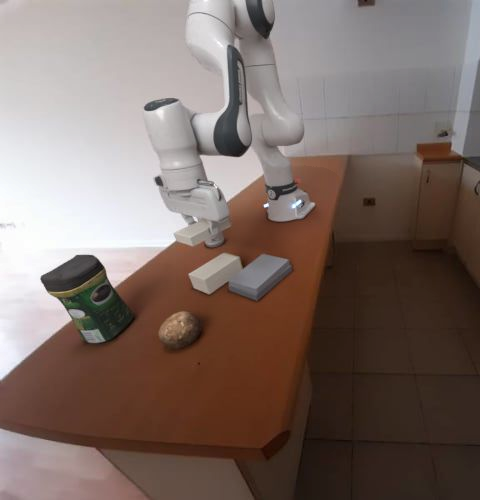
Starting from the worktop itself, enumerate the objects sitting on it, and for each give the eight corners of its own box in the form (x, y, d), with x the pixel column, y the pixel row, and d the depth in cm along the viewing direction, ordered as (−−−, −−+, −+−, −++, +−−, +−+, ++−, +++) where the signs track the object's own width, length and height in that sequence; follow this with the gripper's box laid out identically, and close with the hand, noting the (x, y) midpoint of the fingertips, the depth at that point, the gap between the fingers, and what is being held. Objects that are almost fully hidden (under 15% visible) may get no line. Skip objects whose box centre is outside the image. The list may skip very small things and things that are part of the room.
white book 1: (226, 258, 85) (224, 252, 83) (241, 263, 82) (239, 256, 80) (191, 281, 75) (188, 274, 74) (206, 287, 72) (204, 280, 71)
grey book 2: (266, 262, 86) (265, 257, 85) (292, 270, 81) (291, 265, 80) (229, 290, 75) (227, 285, 74) (257, 301, 70) (255, 295, 69)
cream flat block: (216, 222, 78) (213, 214, 77) (232, 225, 75) (230, 217, 74) (176, 241, 69) (173, 233, 68) (193, 246, 66) (189, 237, 65)
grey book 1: (263, 258, 84) (262, 253, 83) (290, 264, 80) (289, 259, 80) (229, 285, 73) (227, 280, 73) (257, 294, 70) (256, 288, 69)
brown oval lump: (174, 311, 64) (167, 303, 58) (209, 319, 65) (205, 313, 60) (156, 346, 60) (147, 342, 55) (194, 355, 61) (188, 351, 56)
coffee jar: (112, 314, 69) (72, 250, 60) (140, 315, 68) (104, 250, 59) (77, 345, 61) (24, 276, 52) (109, 346, 60) (61, 277, 51)
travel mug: (219, 248, 96) (201, 192, 86) (202, 247, 97) (183, 192, 87) (228, 239, 101) (213, 186, 91) (212, 238, 102) (195, 186, 92)
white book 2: (228, 265, 86) (226, 258, 85) (243, 270, 83) (241, 263, 82) (193, 288, 77) (191, 281, 75) (209, 294, 74) (206, 287, 72)
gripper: (227, 177, 62) (241, 232, 69) (172, 171, 72) (189, 220, 79) (204, 186, 58) (222, 244, 65) (148, 178, 67) (169, 229, 74)
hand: (203, 231), depth 72 cm, fingers closed on cream flat block, 6 cm apart
